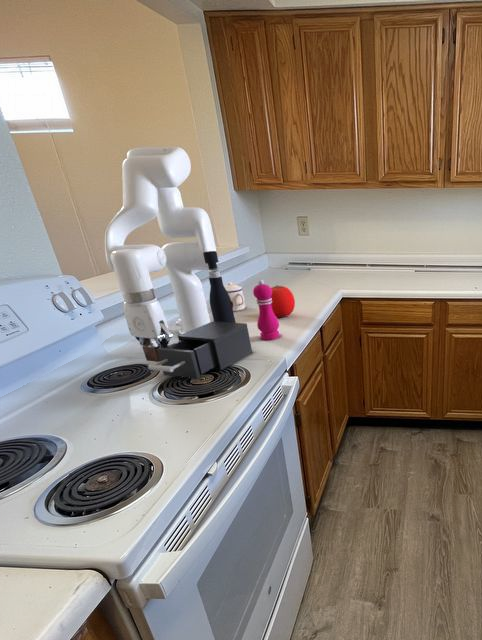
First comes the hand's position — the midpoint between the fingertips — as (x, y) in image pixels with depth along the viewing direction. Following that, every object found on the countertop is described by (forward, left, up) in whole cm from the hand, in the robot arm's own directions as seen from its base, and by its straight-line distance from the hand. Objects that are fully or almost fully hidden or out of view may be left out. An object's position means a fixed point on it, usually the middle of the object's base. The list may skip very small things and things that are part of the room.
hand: (158, 357), depth 121 cm
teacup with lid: (-21, +61, -3) cm, 65 cm away
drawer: (+13, -2, -2) cm, 14 cm away
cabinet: (+13, +9, -3) cm, 17 cm away
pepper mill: (+16, +31, -3) cm, 35 cm away
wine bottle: (+6, +22, -3) cm, 23 cm away
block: (0, 0, 0) cm, 0 cm away
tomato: (+5, +55, -3) cm, 56 cm away
